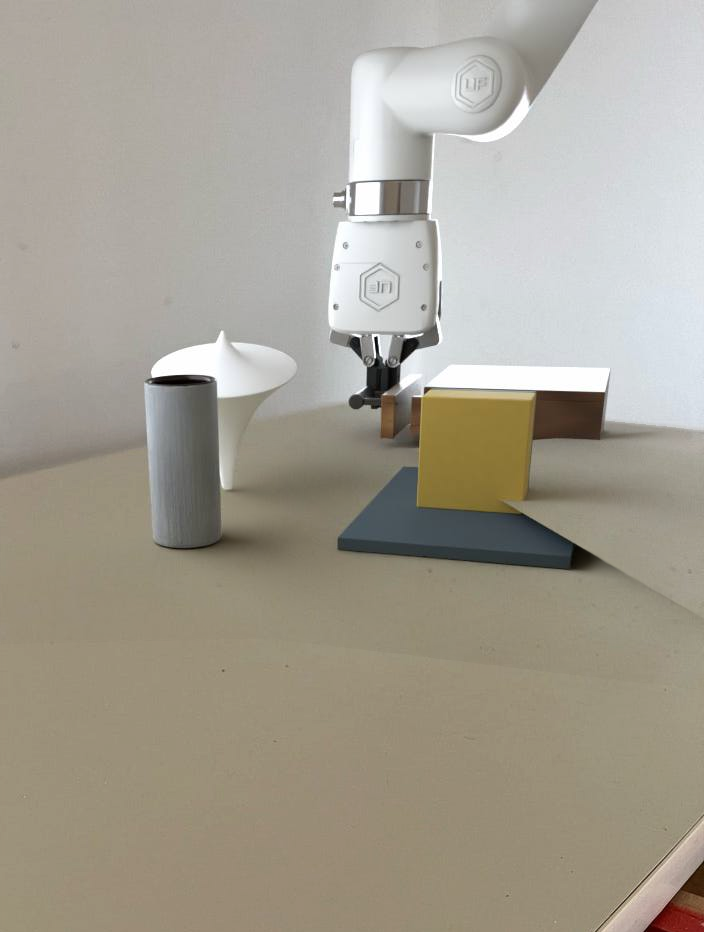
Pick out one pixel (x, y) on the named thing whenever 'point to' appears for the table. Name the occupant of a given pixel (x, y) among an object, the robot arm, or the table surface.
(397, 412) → the drawer
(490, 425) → the sponge
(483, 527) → the mat
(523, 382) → the cabinet
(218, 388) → the white spinning top
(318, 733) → the table surface
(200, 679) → the table surface
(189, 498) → the planter
